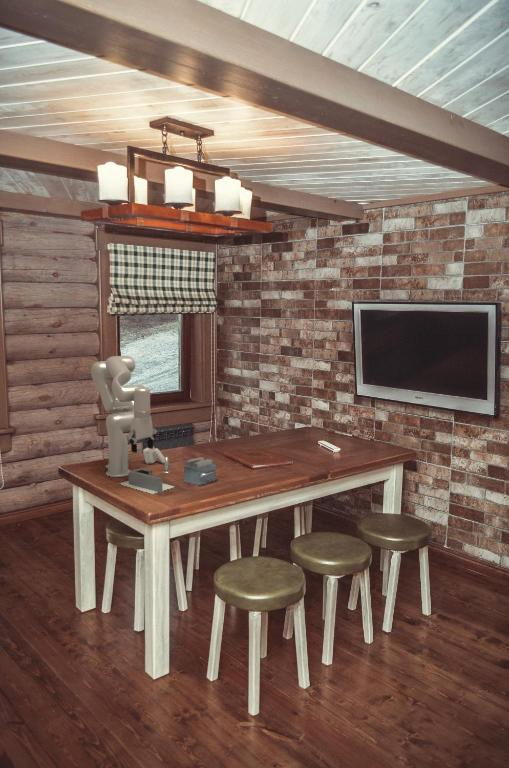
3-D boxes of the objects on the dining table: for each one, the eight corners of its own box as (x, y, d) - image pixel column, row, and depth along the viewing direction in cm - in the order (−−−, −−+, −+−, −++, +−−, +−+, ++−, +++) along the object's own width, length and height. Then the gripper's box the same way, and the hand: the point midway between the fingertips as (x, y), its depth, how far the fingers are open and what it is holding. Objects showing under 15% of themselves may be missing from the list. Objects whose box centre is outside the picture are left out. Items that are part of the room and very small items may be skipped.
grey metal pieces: (155, 474, 301) (155, 454, 300) (172, 469, 310) (172, 450, 309) (200, 486, 281) (200, 465, 280) (217, 481, 290) (218, 460, 289)
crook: (128, 484, 283) (128, 471, 282) (142, 479, 290) (142, 467, 289) (158, 491, 271) (158, 479, 270) (172, 487, 278) (172, 475, 277)
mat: (118, 484, 283) (118, 483, 283) (141, 478, 294) (141, 477, 294) (152, 494, 268) (152, 493, 268) (175, 487, 279) (174, 486, 279)
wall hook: (164, 464, 317) (160, 446, 317) (146, 468, 320) (142, 450, 319) (169, 461, 325) (165, 443, 325) (152, 464, 328) (148, 446, 327)
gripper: (150, 410, 283) (151, 445, 285) (121, 415, 269) (122, 452, 272) (161, 412, 278) (161, 448, 280) (132, 417, 265) (133, 455, 267)
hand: (142, 450), depth 276 cm, fingers open, 9 cm apart
